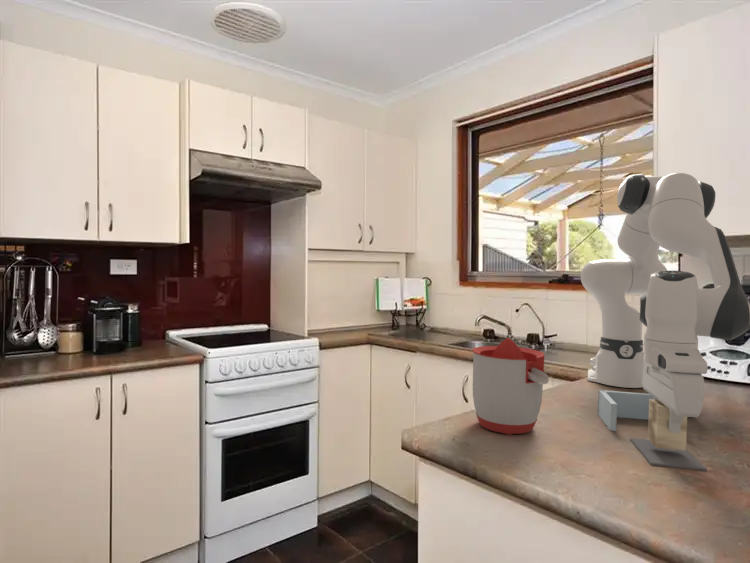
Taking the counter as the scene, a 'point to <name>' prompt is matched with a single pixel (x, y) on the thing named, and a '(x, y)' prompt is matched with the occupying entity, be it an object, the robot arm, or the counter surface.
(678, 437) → the birch block
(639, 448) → the charcoal mat
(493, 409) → the citrus juicer
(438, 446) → the counter surface
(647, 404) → the open-side box
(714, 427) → the counter surface
